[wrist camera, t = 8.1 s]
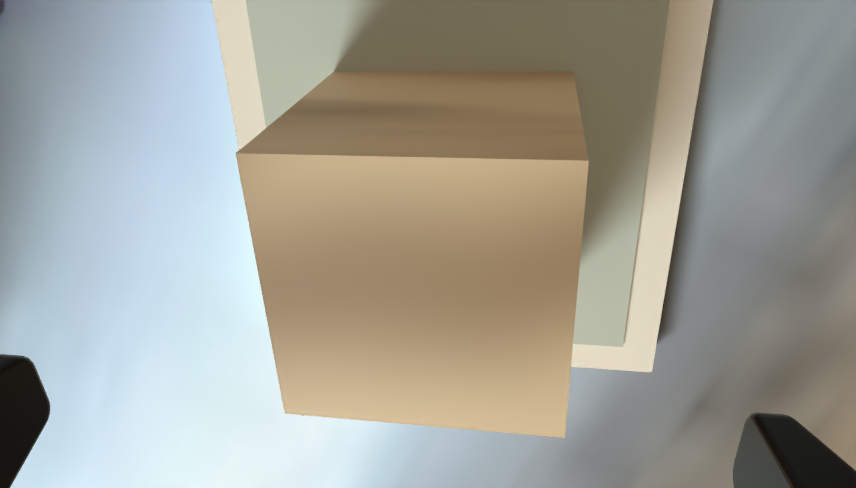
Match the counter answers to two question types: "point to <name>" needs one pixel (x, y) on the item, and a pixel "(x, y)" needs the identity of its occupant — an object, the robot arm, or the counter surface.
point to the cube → (423, 247)
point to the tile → (520, 52)
